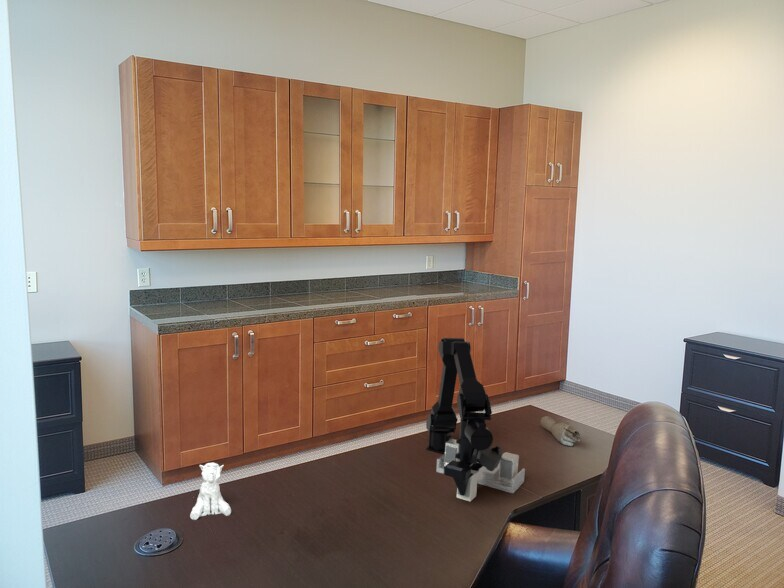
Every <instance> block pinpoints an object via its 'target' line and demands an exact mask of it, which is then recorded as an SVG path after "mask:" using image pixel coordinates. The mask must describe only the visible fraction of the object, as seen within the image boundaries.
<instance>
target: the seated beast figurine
mask: <svg viewBox="0 0 784 588" xmlns="http://www.w3.org/2000/svg"><path fill="white" fill-rule="evenodd" d="M199 468H200V470H201V477H202V480H203V481H202V483H201V485H200V487H199V494H198V495H197V499H196V503H195V505H194V506H193V507H192V509H191V512H190V515H189V517H190V519H191V520H194V521H196V520H198V519H199V518H200V517H204V516H205V517H206V516H207V515H208V516H210V515H218V514H219V515H220V514H222V515H224V516H226V517H228V516H231V513H232V509H231V506H230V504H229V503H227V502H226V501H225V499H224V498H223V496H222V493H221V490H220V488H221V487H220V484H219V482H218V480H219V478H220V477H221V472H222V469H223V468H224V464H222V465H220V464H218V463H216V462H207V463H205V464H204V465H202V464H199Z"/></svg>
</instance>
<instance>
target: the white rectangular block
mask: <svg viewBox="0 0 784 588" xmlns="http://www.w3.org/2000/svg"><path fill="white" fill-rule="evenodd" d="M471 473H472V474H473V475H472V476H471V477H470V478H469V479H468V482H467V487H466V491H465V495H464V496H462V495H460V493H459V490H458V488H457V487H456V498H457V499H460V500H464V501H467V502H472V501H473V500H474V499H475V498H476V497H477V489H478V483H477V478H478V471H475V470H471Z"/></svg>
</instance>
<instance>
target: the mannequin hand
mask: <svg viewBox="0 0 784 588" xmlns="http://www.w3.org/2000/svg"><path fill="white" fill-rule="evenodd" d="M539 421H540V423H539V424H540V427H541V428H543V429H545V430H546V431H548V432H550V433H551V435H552V436H553V437H554V439H555V440H556V442H558V443H560V444H561V445H563V446H567V447H568V446H569V447H573V446H574V443H576V442H580V441H581V439H580V436H581V437H582V432H581V431H580V430H578V429H577V428H575V427H574V426H573V425H572V423H568V422H557V421H556V420H555V419H554V418H552V417H551V416H549V415H545V416H543V417H541V419H540V420H539Z"/></svg>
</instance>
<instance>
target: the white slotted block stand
mask: <svg viewBox="0 0 784 588" xmlns="http://www.w3.org/2000/svg"><path fill="white" fill-rule="evenodd" d="M456 440H457V439H454V438H452V439H450V440H449V441H447V442H446V447H445V453H444V454H443V453H442V454H441V455H440V456H439V457H437V458H436V469H435V470H436V473H439V474H443V473H444V466H446V465H447V464H448V463H450V462H451V461H452V460H454V461H458V462H459V461H460V459H457V458H455V454H457V453H458V450H459V444H457V443H456ZM519 459H520V455H519V454H515V453H510V452H508V451H506V452H503V453H502V459H501V460H500V462H499V464H498V466H497V468H495V469H494V470H493V471H489V470H487V468H486V467H484V466H483V467H481V468H480V469H479V472H478V478H477V485H478V484H479V485H481V486H486V487H489V488H492V489H496V490H499V491H503V492H506V493H510V494H514V493H515V492H516V491H517V490H518V489H519V488H520V487H522V485H523V484H524V483H525V474H526V473H525V472H526V468H524V467H523V468H522V469H521V470H520V471H519V470H518V469H519ZM518 471H519V472H518Z"/></svg>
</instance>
